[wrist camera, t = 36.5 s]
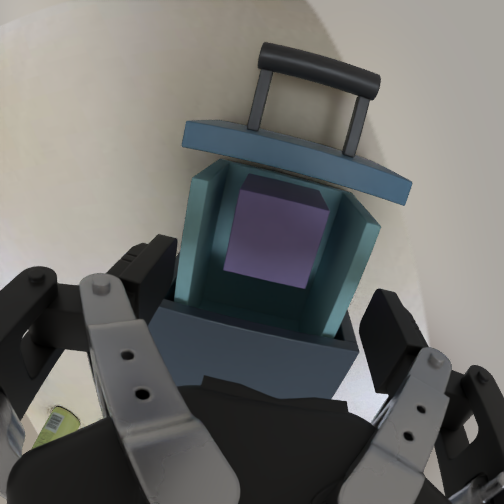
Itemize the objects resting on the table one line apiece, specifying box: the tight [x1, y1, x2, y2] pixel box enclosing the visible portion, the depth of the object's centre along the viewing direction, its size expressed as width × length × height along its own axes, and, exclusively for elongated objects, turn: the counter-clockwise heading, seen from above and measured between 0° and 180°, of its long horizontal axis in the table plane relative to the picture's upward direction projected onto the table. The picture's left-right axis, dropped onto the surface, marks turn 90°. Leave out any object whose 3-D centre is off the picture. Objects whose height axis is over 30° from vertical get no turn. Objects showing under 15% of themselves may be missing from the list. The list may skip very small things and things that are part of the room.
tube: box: [32, 407, 80, 449], centre depth 29 cm, size 6×5×20 cm
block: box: [223, 173, 330, 289], centre depth 18 cm, size 5×5×5 cm
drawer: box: [174, 42, 412, 339], centre depth 18 cm, size 18×10×7 cm, turn 167°
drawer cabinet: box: [148, 252, 359, 399], centre depth 23 cm, size 15×12×9 cm
